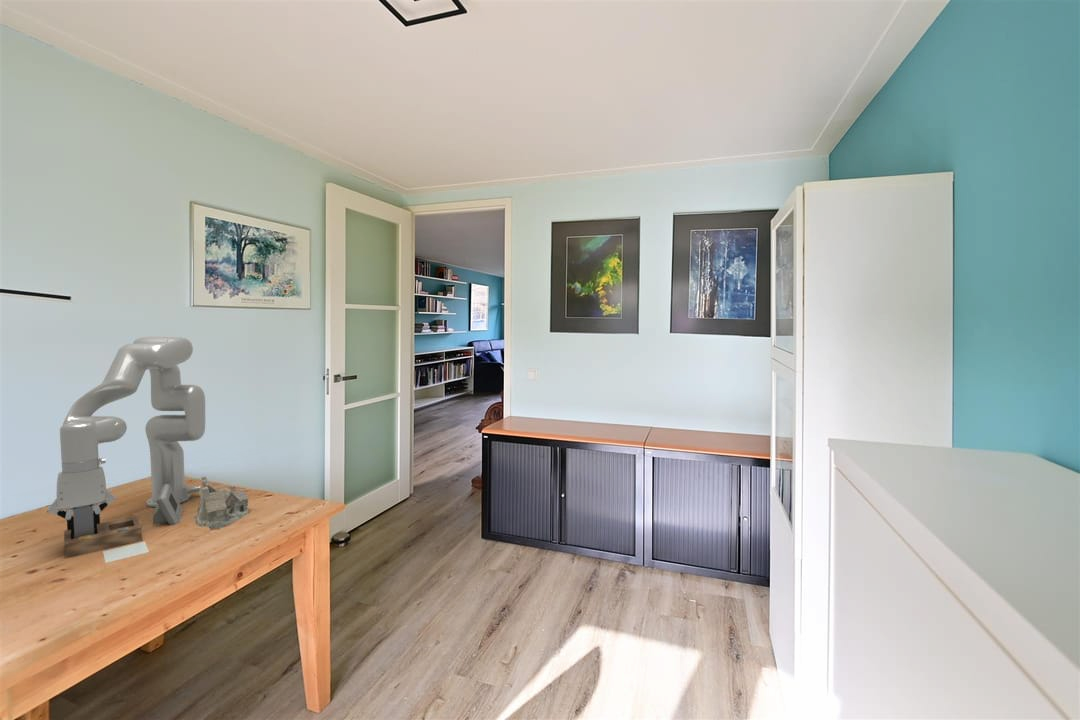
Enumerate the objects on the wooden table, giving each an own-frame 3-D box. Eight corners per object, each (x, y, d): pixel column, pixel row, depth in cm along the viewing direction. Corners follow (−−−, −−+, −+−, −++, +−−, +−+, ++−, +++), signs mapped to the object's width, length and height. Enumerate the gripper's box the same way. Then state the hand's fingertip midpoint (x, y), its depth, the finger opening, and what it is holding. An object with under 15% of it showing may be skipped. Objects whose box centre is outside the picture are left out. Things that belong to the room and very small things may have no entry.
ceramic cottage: (192, 533, 148) (194, 484, 148) (194, 517, 161) (196, 472, 161) (251, 525, 157) (253, 479, 157) (248, 510, 170) (250, 468, 170)
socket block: (137, 531, 149) (136, 514, 148) (142, 544, 140) (141, 526, 140) (65, 547, 137) (64, 529, 137) (65, 562, 129) (64, 543, 128)
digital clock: (178, 528, 151) (176, 495, 150) (142, 533, 148) (141, 499, 147) (192, 510, 166) (191, 480, 165) (161, 513, 163) (159, 483, 162)
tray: (145, 545, 139) (144, 541, 139) (149, 556, 133) (148, 552, 133) (103, 555, 133) (103, 551, 133) (105, 567, 127) (105, 562, 127)
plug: (93, 535, 139) (92, 500, 138) (94, 540, 136) (92, 504, 135) (74, 539, 136) (72, 504, 135) (74, 544, 133) (73, 508, 132)
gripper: (119, 457, 143) (121, 517, 144) (38, 468, 131) (41, 533, 132) (121, 463, 137) (124, 525, 139) (37, 475, 126) (41, 542, 127)
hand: (84, 528), depth 135 cm, fingers closed on plug, 4 cm apart
